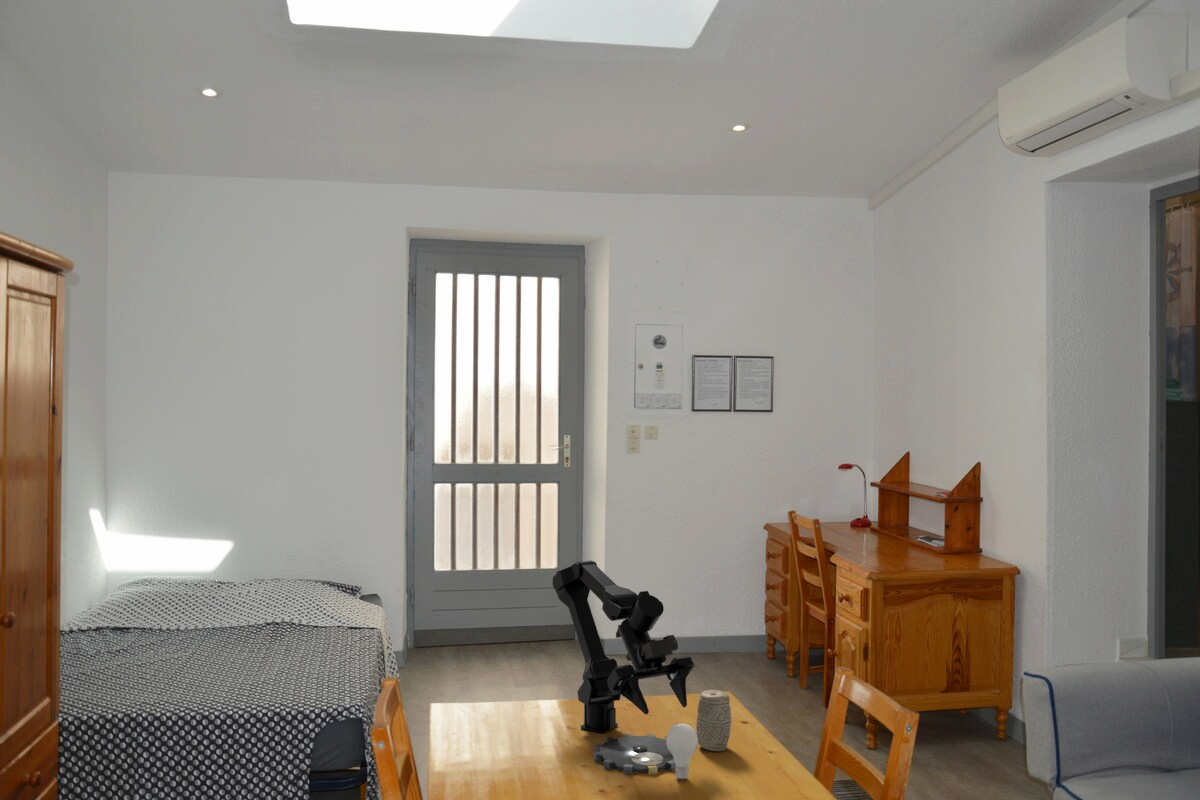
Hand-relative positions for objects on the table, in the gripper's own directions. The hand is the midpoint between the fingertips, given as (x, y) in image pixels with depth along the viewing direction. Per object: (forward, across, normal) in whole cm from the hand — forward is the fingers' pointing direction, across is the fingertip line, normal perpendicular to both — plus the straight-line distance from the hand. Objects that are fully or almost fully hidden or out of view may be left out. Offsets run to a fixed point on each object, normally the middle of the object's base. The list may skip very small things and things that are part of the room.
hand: (666, 709), depth 199 cm
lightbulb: (+13, 0, +5) cm, 14 cm away
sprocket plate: (+2, -1, +15) cm, 15 cm away
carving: (+5, +16, +13) cm, 21 cm away
